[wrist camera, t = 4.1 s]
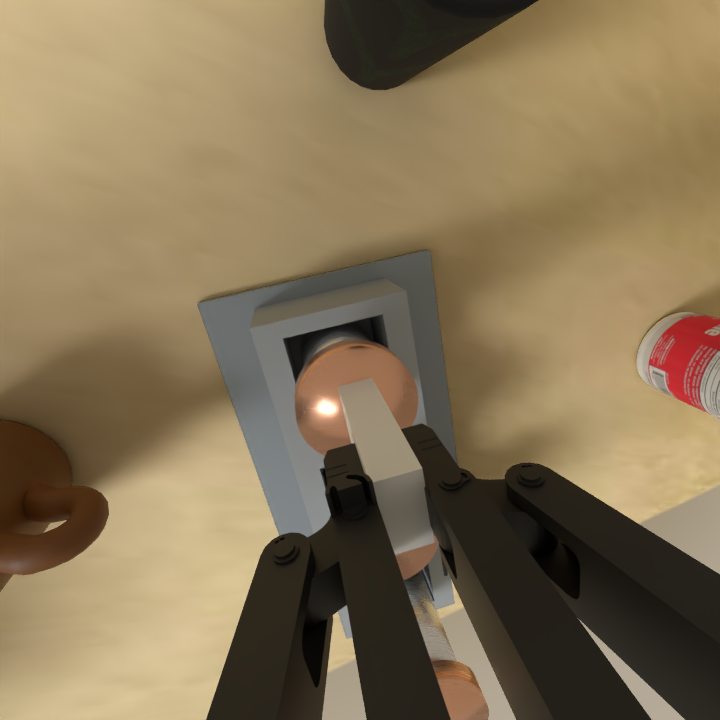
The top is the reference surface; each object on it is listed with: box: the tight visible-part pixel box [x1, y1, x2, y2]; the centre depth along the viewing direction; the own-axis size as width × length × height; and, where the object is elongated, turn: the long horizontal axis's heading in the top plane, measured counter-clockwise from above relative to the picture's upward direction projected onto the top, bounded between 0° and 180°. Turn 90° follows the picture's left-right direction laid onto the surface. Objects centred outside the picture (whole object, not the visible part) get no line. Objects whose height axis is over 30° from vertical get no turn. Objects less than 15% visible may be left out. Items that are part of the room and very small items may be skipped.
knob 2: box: [404, 571, 489, 720], centre depth 24 cm, size 5×5×8 cm
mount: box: [197, 249, 457, 639], centre depth 27 cm, size 14×25×5 cm, turn 11°
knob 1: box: [294, 321, 418, 456], centre depth 22 cm, size 5×5×8 cm
